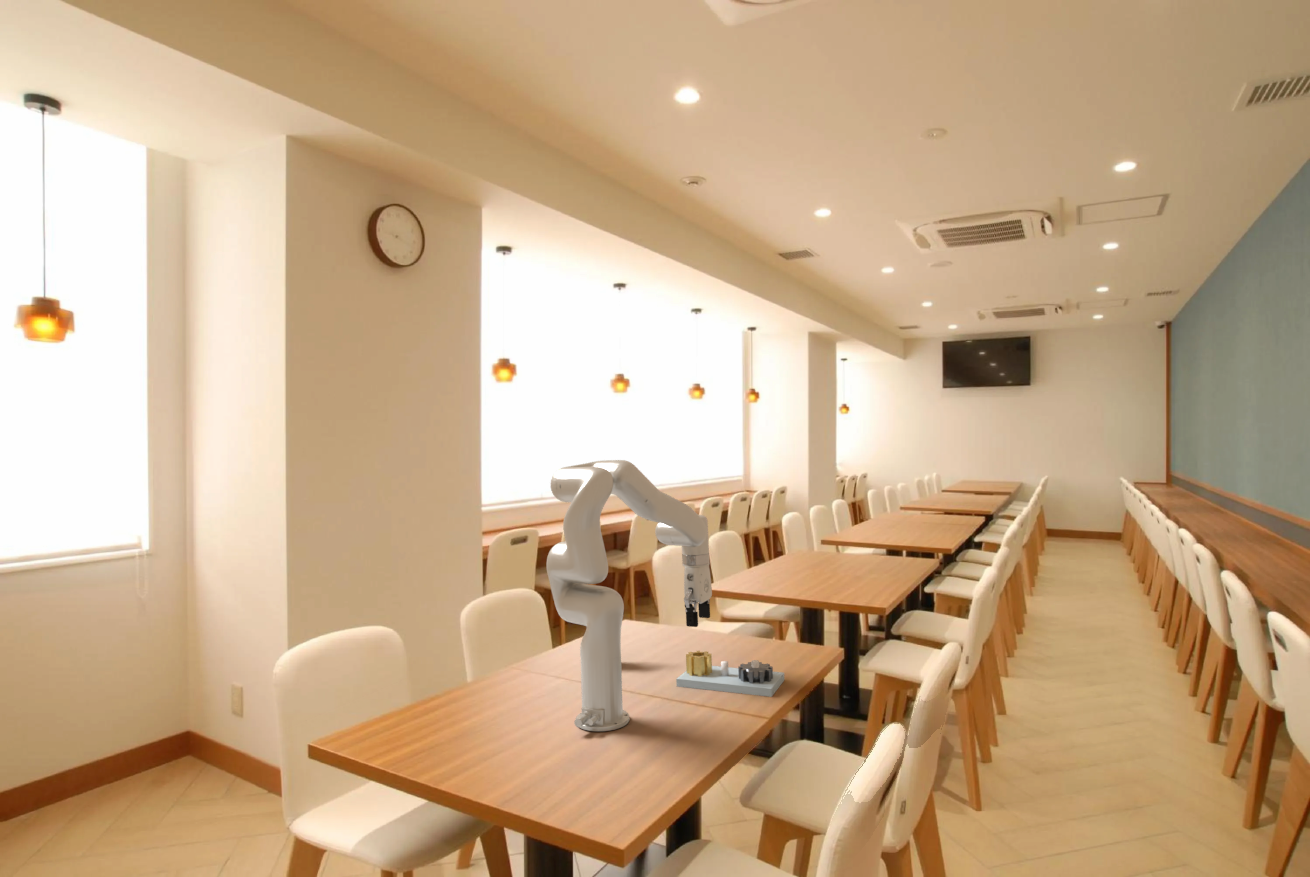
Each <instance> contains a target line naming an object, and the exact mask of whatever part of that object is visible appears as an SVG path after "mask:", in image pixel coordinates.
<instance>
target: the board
mask: <svg viewBox="0 0 1310 877" xmlns="http://www.w3.org/2000/svg"><path fill="white" fill-rule="evenodd" d="M750 662H751V664H752V668H759V662H760V661H759V660H757V659H753V660H751V661H750ZM784 681H785V672H782V671H781V672H780V671H773V679H771V681H770V682H767V681H765V682H764V683H762V684H760V683H759V682H754V683H753V684H751V683H749V682H748V681H745V682H742V681H741V679H739V670H738V667H730V666H729V661H727V660H721V661H720V666H718V665H712V673H710V675H701V677H698V675H693V676H690V675H689V673H687V671H686V670H685V671H684V672H683V673H682V674H680V675H679V676H678V677H676V680H675V682H676V683H675V684H676V687H679V688H680V687H681V688H688V689H696V690H697V689H698V690H707V691H713V692H714V691H716V692H726V693H731V694H732V693H734V694H741V693H742V695H743V694H744V695H750V696H751V695H752V696H760V697H762V696H763V697H769V698H770V697H771V698H772V697H773V696H774V695H775V693H776V692H777V690H778V689H779V688H780V687H781V685H782V684H783V683H784Z"/></svg>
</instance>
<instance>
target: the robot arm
mask: <svg viewBox="0 0 1310 877" xmlns="http://www.w3.org/2000/svg"><path fill="white" fill-rule="evenodd" d="M550 490H551V494H552V495H553V496H554V497H555V498H556V499H557V500H559V501H560V502H563V503H570V504H569V506H568V508H567V510H566V512H565V515H564V516H563V517H564V518H563V522H562V523H563V524H562V525H563V526H562V528H563V536H564V541H561V542H558V543H556V544H554V545H553V546H552V547H551V548H550V550H549V552H548V553H547V554H548V555H547V557H546V573H547V577H548V582H549V585H550V586H549V587H550V591H551V595H552V599H553V601H554V603H553V604H554V606H555V609H556V611H557V614H558V616H559V617H560V618H561V619H562V620H563V621H565V622H567V623H572V624H574V625H575V624H576V625H581V626H585V627H586V630H585V632H584V634H583V636H582V639H581V642H580V647H579V648H580V649H579V650H580V651H579V655H580V656H579V657H580V682H581V683H580V684H581V687H580V688H581V712H580V713H578V714H577V716H576V717H575V720H574V726H576V728H579V729H581V730H584V731H590V732H609V731H614V730H618V729H621V728H623V727H625V726H626V725H627V724H629V723H630V719H631V718H630V714H629V712H627V711H626V710H625V709H624V707H623V681H622V680H623V678H622V677H623V676H622V672H623V671H622V650H621V649H622V648H621V644H622V642H621V637H622V635H621V634H622V624H623V618H624V611H625V605H624V604H625V603H624V599H623V598H622V595H621V594H620V593H619V592H618V591H617V590H615V589H614V588H611V587H607V586H602V585H596V584H600V583H602V582H603V581H605V579H606V578H607V576H608V573H609V562H608V558H607V552H606V548H605V543H604V539H603V533H602V531H601V528H602V527H601V522H600V521H601V516H602V511H603V509H604V507H605V505H606V503H607V501H608V499H609V498H610V496H611V495H614V496H616V497H617V498H619V500H621V501H622V502H623V503H624V504H625V505H626V506H627V507H628V508H629V509H630V510H631V511H632V512H633V513H634V514H635V515H636V516H638V517H640V518H642V519H645V520H647V521H651V522H653V523H657V524H656V526H655V529H654V530H655V532H654V533H655V537H656V539H657V540H658V541H659V542H660V543H661V544H664V545H667V546H675V547H678V546H679V547H681V559H682V560H681V562H682V563H681V564H682V567H683V568H684V571H683V574H684V576H683V590H684V591H683V593H684V594H683V595H684V598H683V601H684V608H685V624H686V626H687V627H693V628H697V627H698V626H699V618H700V619H701V618H702V619H709V618H710V617H711V606H710V603H711V600H710V599H711V598H712V595H713V589H712V588H713V587H712V579H711V577H712V576H711V569H710V564H711V563H710V541H709V525H708V524H709V523H708V522H709V521H708V518H707V516H705V515H704V514H698V513H697V512H696V511H695V510H694V509H693V508H692V507H690V506H689V505H688V504H687V503H684V502H683V501H682V500H681V501H680V500H678V499H677V498H675V497H673V496H671V495H669V494H667V493H665V492H664V491H661V490H660V489H659V488H657V487H656V486H655V485H654V483H653V482H652V481H651V480H650V479H648V477H647V476H645V475H644V473H643V472H642V471H641V470H639V468H638V467H636V465H635V464H634V463H632V462H630V461H628V460H625V459H611V460H605V459H604V460H596V461H591V462H586V463H582V464H576V465H570V466H563V467H560V468H559V469H558V470H556V471H555V472H554V473H553V475H552V477H551V479H550ZM697 608H698V609H697ZM697 610H698V611H697Z"/></svg>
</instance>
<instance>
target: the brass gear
mask: <svg viewBox="0 0 1310 877" xmlns="http://www.w3.org/2000/svg"><path fill="white" fill-rule="evenodd" d="M687 652H688V653H686V654H685V665H686V668H685V671H687V673H689V675H690V676H693V675H698V677H701V675H710V673H712V666H713V664H712V663H713V661H712V660H713V658H712V653H709V651H707V650H706V651H701V650H696V651H687Z"/></svg>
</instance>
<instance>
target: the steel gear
mask: <svg viewBox="0 0 1310 877" xmlns="http://www.w3.org/2000/svg"><path fill="white" fill-rule="evenodd" d="M737 668H738V670H739V679H741V681H742V682H745V681H748V682H749V683H751V684H753V683H754V682H759V683H760V684H762V683H764V682H765V681H767V682H770V681H771V679H773V672H774V668H773V666H771V665H770V663H762V661H759V668H752V664H751V661H748V662H747V663H741V664H740V665H738V667H737Z"/></svg>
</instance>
